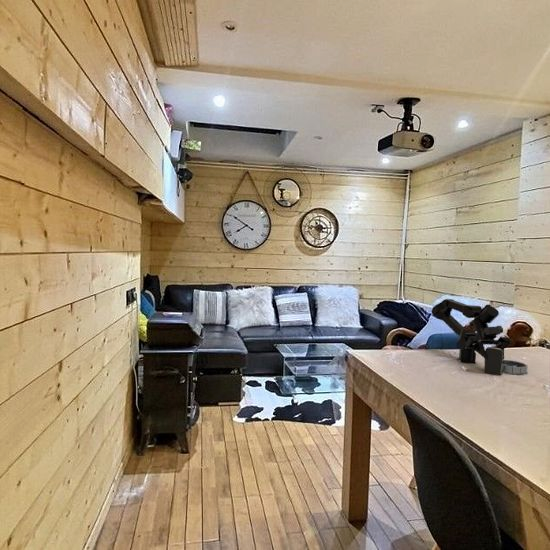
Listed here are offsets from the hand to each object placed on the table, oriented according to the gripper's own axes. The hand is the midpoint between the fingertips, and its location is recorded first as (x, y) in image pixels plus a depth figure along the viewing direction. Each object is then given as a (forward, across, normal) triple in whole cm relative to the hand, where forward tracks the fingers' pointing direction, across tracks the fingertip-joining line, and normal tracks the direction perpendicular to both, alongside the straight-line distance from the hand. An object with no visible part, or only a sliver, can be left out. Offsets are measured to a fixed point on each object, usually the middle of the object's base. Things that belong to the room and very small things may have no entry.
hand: (495, 359), depth 184 cm
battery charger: (+4, 0, +6) cm, 7 cm away
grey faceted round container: (+1, +12, +9) cm, 14 cm away
